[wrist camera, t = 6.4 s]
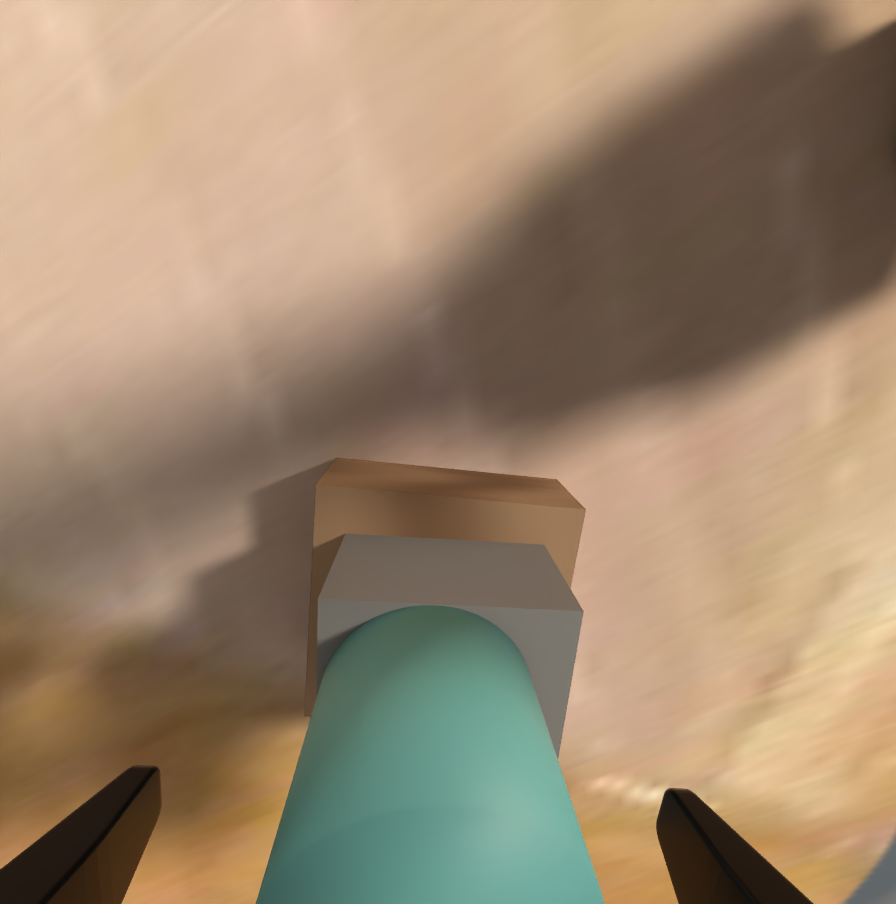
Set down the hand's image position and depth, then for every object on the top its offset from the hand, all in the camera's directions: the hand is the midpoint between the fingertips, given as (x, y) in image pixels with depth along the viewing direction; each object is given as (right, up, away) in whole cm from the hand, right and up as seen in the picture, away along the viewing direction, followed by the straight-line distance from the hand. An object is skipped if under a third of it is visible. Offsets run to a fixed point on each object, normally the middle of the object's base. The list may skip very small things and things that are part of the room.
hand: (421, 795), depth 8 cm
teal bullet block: (0, 0, +3) cm, 3 cm away
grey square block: (0, +1, +6) cm, 6 cm away
